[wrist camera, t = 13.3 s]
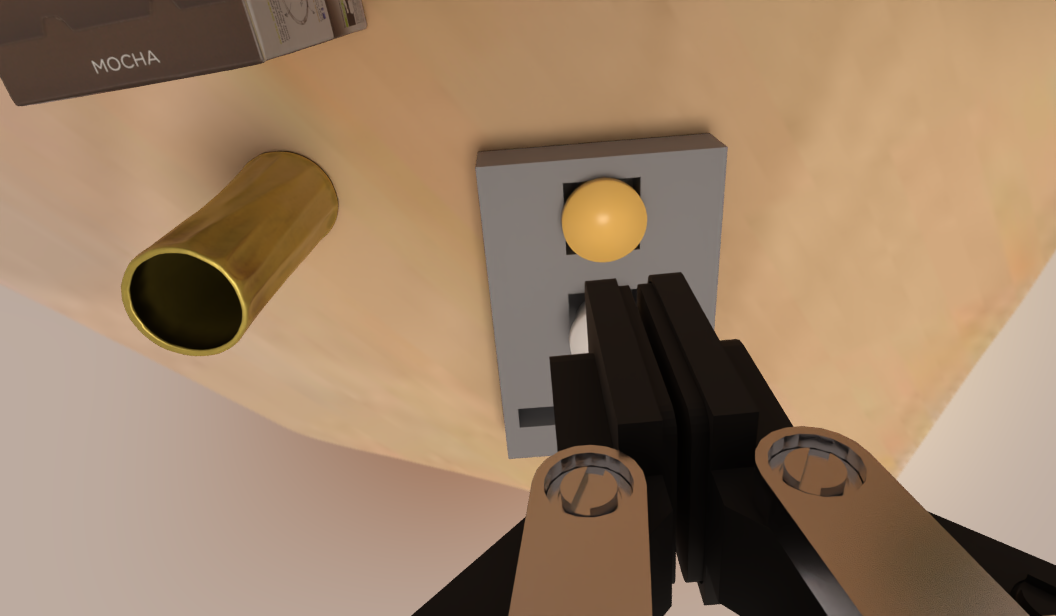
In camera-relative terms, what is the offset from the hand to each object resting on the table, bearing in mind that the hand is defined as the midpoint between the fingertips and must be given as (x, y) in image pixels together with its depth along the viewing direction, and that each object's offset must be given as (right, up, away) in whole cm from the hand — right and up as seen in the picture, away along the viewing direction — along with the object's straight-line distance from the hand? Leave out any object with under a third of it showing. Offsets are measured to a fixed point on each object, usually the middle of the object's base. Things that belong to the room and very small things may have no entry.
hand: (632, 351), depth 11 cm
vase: (-17, +8, +28) cm, 34 cm away
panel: (+3, +2, +32) cm, 32 cm away
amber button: (+2, +7, +27) cm, 28 cm away
